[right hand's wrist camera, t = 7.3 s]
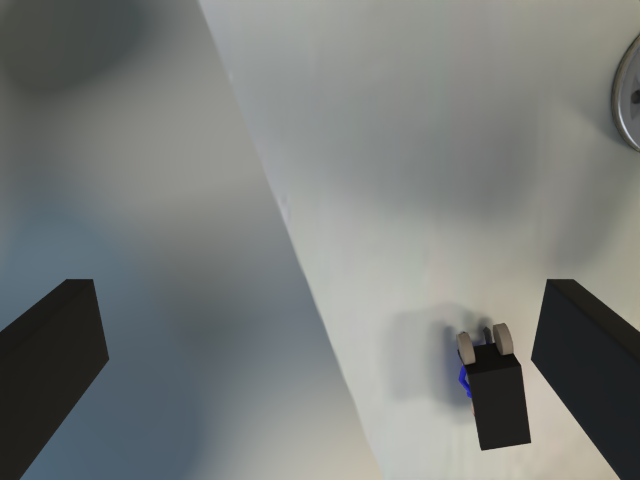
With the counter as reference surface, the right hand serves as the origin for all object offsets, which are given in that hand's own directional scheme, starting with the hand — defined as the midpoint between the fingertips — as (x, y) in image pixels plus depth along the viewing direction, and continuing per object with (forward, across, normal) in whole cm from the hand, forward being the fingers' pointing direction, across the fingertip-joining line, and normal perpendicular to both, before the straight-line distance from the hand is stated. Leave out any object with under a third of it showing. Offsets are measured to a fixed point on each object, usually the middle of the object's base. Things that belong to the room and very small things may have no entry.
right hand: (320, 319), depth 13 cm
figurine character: (+37, -21, +28) cm, 51 cm away
